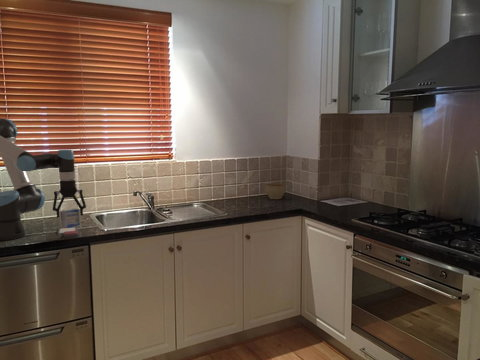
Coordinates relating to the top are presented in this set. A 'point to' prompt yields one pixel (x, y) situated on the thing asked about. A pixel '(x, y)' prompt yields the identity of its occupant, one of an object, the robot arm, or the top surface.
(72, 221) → the medicine box
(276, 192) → the planter bowl
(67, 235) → the ink pad
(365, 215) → the top surface
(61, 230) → the paper card
